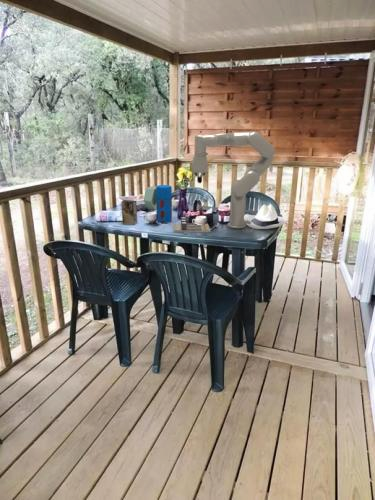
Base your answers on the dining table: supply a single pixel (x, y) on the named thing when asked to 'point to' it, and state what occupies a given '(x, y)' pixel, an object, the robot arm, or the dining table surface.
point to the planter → (150, 198)
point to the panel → (190, 228)
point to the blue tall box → (164, 203)
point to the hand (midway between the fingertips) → (199, 182)
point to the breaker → (184, 225)
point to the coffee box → (129, 212)
